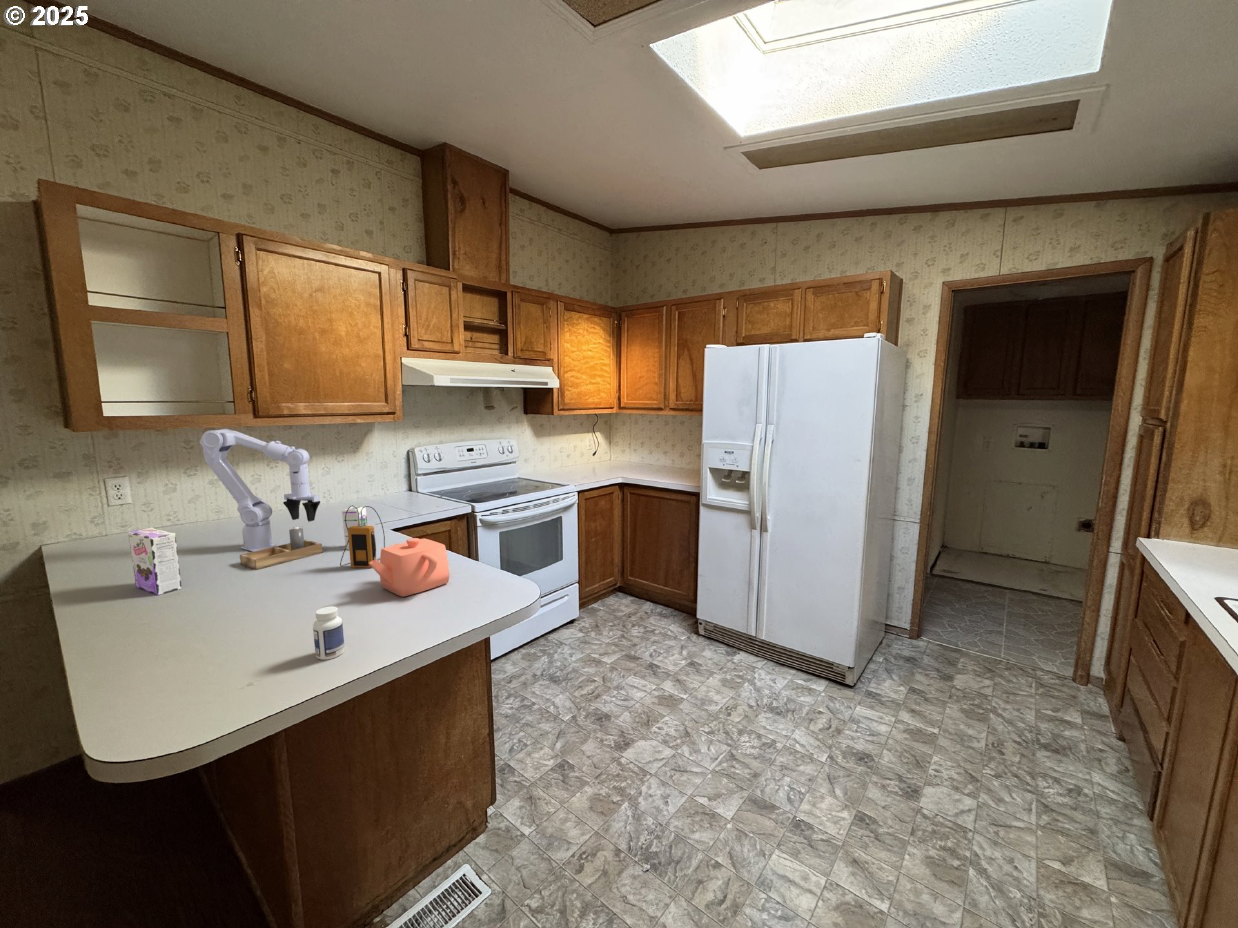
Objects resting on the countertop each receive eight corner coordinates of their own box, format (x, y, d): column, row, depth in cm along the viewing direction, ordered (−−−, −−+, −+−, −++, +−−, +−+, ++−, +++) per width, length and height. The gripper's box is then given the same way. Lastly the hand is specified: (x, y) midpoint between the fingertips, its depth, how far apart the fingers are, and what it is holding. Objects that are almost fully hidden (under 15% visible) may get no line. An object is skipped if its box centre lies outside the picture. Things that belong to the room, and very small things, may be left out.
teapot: (419, 571, 160) (417, 527, 158) (461, 587, 146) (458, 539, 144) (353, 590, 144) (350, 542, 142) (392, 610, 130) (389, 557, 129)
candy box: (134, 587, 147) (126, 531, 145) (160, 580, 153) (153, 526, 150) (157, 595, 141) (149, 537, 139) (183, 588, 146) (176, 532, 144)
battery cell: (288, 552, 176) (286, 527, 175) (300, 550, 179) (298, 525, 178) (295, 554, 174) (292, 529, 173) (307, 551, 177) (305, 526, 176)
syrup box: (361, 549, 182) (358, 509, 180) (344, 549, 182) (341, 509, 180) (369, 545, 187) (366, 506, 185) (353, 545, 187) (350, 506, 185)
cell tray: (240, 564, 167) (239, 554, 166) (306, 548, 184) (305, 539, 184) (256, 569, 161) (255, 560, 161) (322, 552, 179) (321, 543, 178)
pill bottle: (349, 647, 111) (346, 604, 110) (336, 660, 106) (333, 615, 105) (324, 647, 111) (320, 605, 110) (310, 660, 106) (306, 615, 105)
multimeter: (399, 558, 171) (395, 499, 169) (383, 568, 162) (378, 506, 159) (357, 557, 173) (353, 499, 170) (339, 567, 163) (333, 505, 160)
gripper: (274, 483, 183) (278, 521, 185) (305, 486, 178) (308, 524, 180) (292, 480, 190) (296, 516, 191) (322, 482, 185) (325, 519, 187)
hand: (303, 520), depth 186 cm, fingers open, 7 cm apart
